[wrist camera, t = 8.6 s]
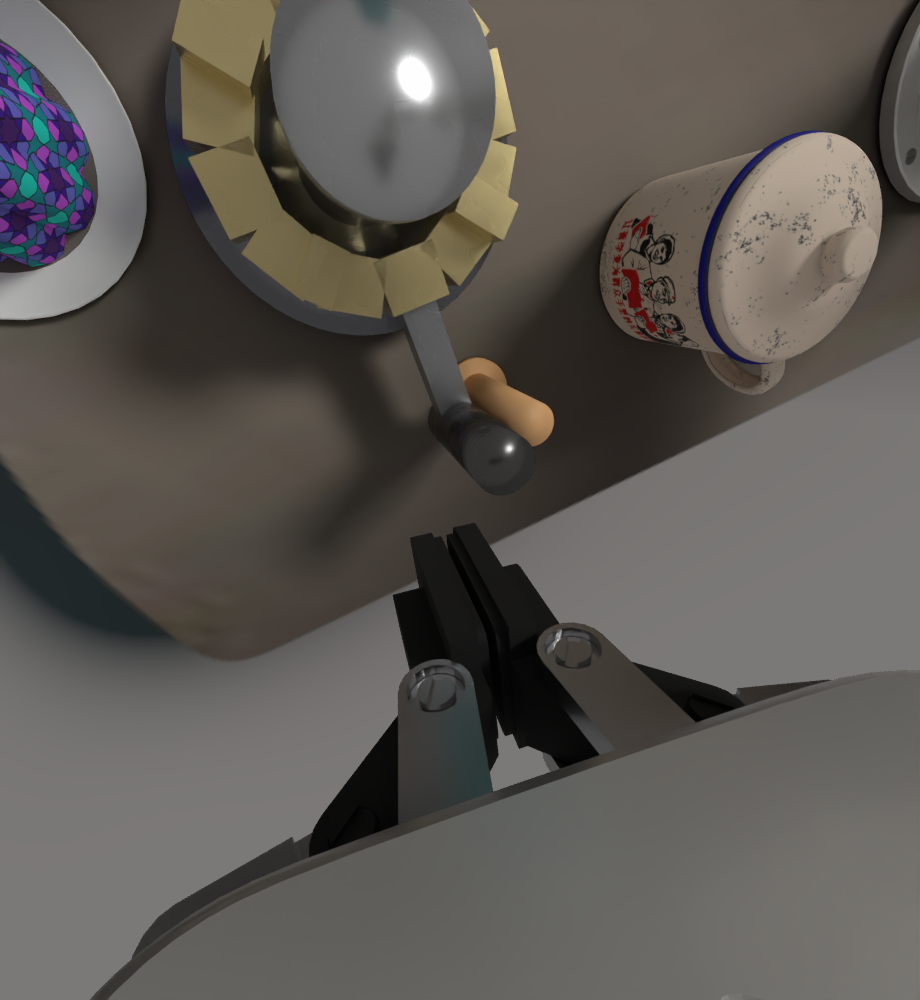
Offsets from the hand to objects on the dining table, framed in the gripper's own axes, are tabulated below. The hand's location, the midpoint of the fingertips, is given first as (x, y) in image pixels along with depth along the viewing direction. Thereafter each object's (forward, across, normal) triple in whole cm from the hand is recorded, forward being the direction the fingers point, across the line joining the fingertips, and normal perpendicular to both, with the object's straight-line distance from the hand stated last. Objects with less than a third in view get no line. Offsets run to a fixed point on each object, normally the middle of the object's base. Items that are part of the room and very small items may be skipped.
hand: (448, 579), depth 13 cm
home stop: (+17, -6, 0) cm, 18 cm away
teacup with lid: (+18, -18, -4) cm, 26 cm away
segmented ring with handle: (+14, -2, -8) cm, 16 cm away
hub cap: (+17, -1, -11) cm, 20 cm away
